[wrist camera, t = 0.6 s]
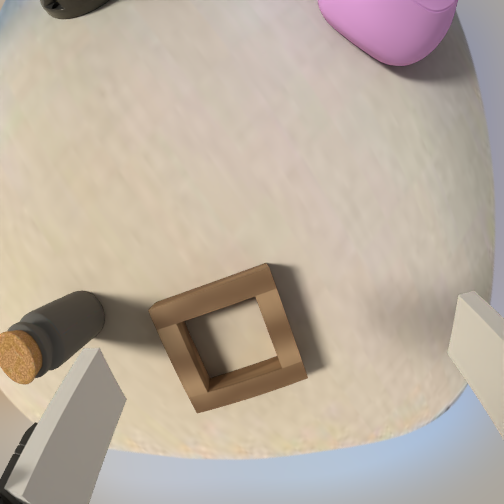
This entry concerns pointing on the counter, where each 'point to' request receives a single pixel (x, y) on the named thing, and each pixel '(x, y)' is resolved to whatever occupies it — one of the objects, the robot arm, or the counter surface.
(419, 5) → the teapot
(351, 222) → the counter surface
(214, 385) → the block
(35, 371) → the bottle
